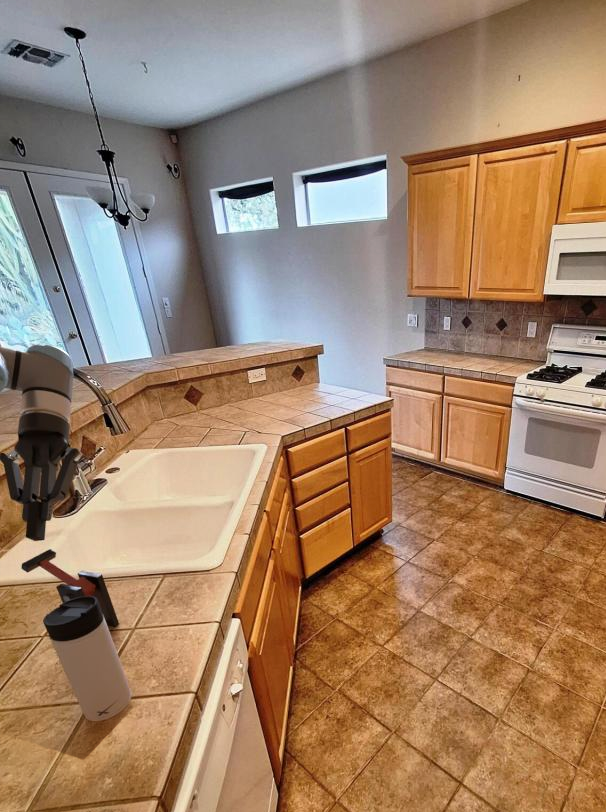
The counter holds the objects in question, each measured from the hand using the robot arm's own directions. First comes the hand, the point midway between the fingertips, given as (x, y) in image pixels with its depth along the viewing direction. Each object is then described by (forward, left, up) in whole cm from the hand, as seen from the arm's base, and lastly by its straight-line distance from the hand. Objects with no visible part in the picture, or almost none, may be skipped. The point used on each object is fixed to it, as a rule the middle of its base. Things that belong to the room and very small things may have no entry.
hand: (35, 538), depth 75 cm
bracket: (+9, -1, -19) cm, 21 cm away
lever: (+5, -1, -7) cm, 9 cm away
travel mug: (+24, -13, -19) cm, 34 cm away
